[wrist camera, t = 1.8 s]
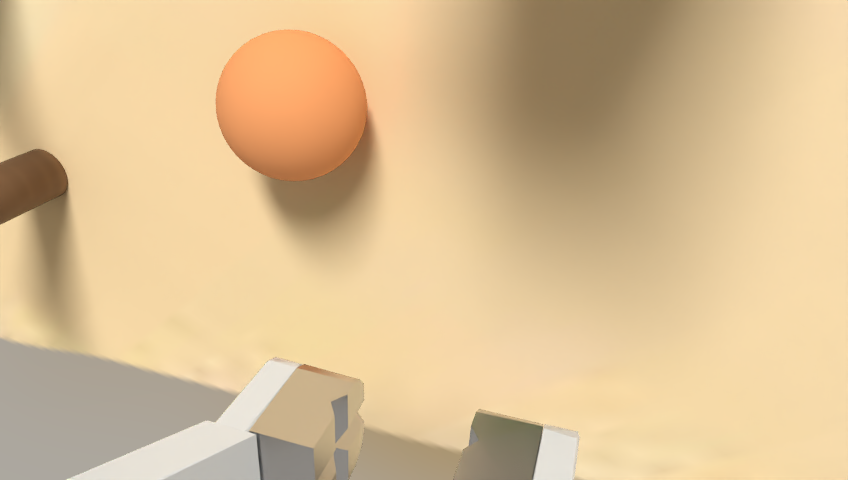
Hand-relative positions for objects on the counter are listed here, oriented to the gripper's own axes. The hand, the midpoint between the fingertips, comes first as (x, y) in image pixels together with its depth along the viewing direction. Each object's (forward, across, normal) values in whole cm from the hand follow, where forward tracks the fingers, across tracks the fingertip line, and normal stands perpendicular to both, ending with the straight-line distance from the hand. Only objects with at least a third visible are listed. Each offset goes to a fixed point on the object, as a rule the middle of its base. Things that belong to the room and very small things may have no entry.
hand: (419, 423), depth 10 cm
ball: (+14, +10, 0) cm, 17 cm away
